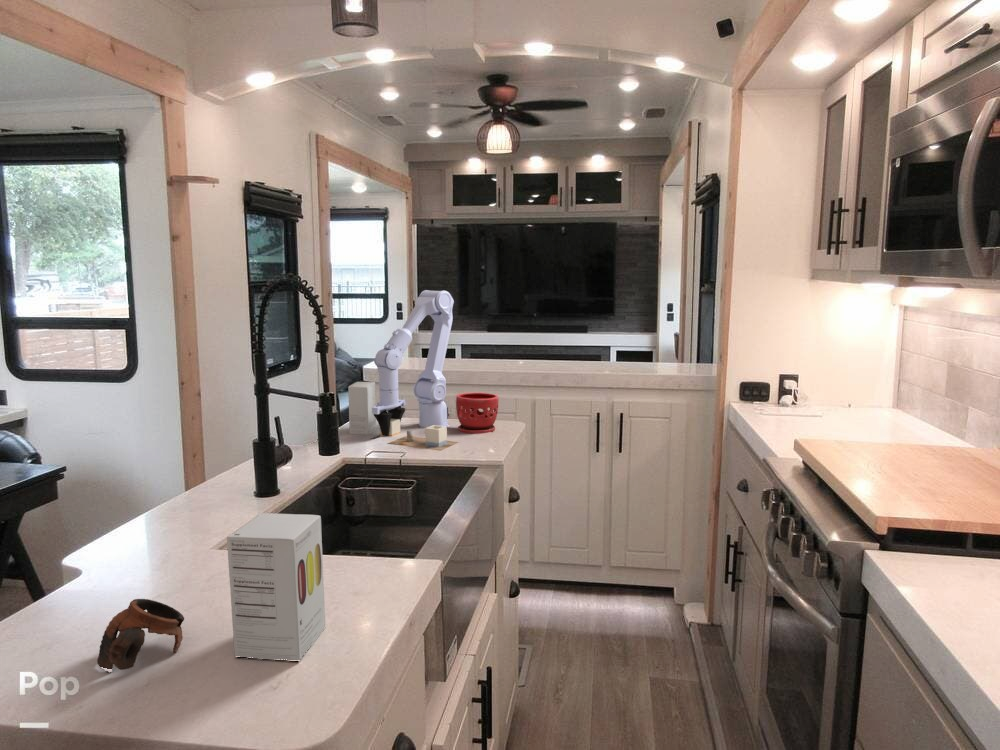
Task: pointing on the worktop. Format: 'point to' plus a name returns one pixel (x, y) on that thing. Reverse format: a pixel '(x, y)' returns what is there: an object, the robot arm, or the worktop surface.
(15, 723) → the worktop surface
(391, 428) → the cream square sleeve
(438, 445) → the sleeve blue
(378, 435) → the mat
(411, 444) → the pin board
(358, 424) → the skincare box
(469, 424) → the plant pot
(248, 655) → the supplement box
